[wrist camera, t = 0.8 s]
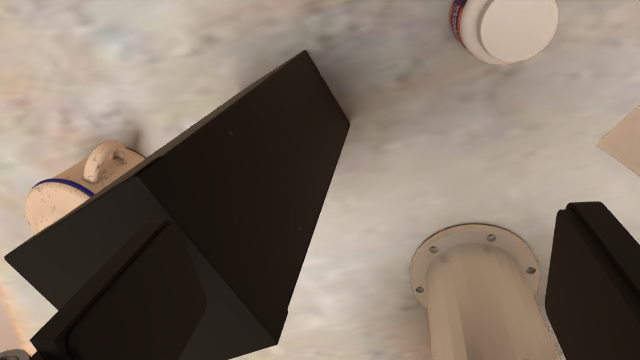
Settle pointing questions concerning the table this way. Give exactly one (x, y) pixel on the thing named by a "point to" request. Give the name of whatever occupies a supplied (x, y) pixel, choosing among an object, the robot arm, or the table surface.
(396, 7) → the table surface
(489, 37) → the pill bottle
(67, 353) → the robot arm
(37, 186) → the teacup with lid
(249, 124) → the tissue box
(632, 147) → the milk
